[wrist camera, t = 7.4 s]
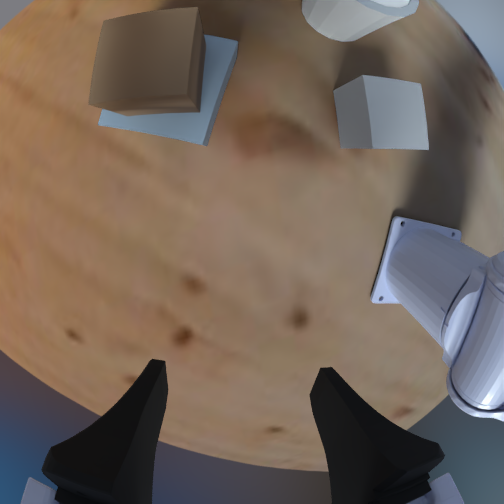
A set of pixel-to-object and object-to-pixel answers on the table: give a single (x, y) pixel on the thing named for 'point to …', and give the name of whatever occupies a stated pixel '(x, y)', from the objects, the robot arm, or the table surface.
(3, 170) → the table surface
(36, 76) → the table surface
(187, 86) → the walnut cube
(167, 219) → the table surface
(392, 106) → the grey cube
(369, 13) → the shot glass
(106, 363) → the table surface
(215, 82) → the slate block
